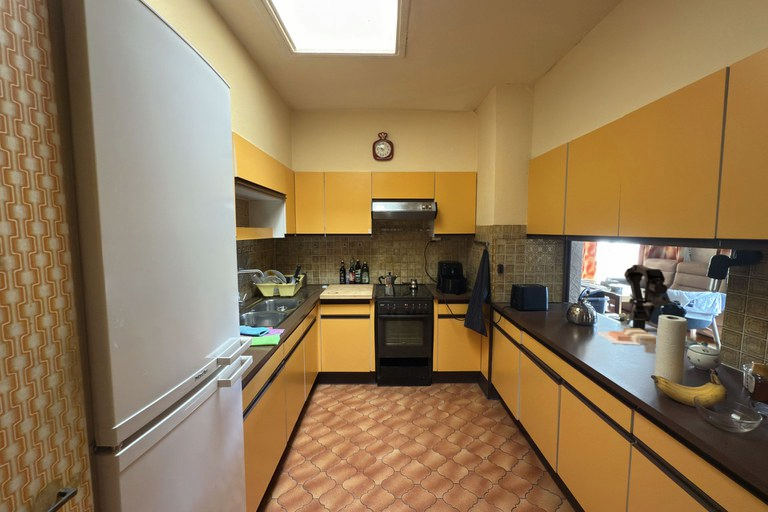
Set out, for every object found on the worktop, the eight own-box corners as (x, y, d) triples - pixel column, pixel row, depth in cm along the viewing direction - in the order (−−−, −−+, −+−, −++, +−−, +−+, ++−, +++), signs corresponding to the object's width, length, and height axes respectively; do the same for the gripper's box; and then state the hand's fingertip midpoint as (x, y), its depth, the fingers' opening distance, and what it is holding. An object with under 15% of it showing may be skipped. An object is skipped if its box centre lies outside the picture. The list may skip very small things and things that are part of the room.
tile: (620, 331, 174) (620, 335, 175) (609, 330, 176) (608, 334, 176) (630, 336, 166) (629, 341, 166) (618, 336, 167) (617, 340, 167)
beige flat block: (653, 352, 152) (655, 337, 151) (655, 353, 151) (656, 338, 150) (636, 350, 155) (637, 335, 154) (638, 351, 153) (639, 336, 153)
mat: (596, 332, 181) (596, 331, 181) (621, 333, 179) (621, 333, 179) (613, 343, 164) (613, 343, 164) (640, 345, 161) (640, 344, 161)
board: (622, 334, 178) (622, 327, 177) (639, 335, 176) (640, 328, 176) (639, 344, 162) (640, 337, 162) (659, 345, 160) (659, 338, 160)
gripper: (642, 292, 165) (640, 320, 166) (681, 293, 161) (679, 321, 163) (629, 288, 176) (627, 314, 177) (666, 289, 172) (664, 315, 173)
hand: (649, 316), depth 172 cm, fingers closed
